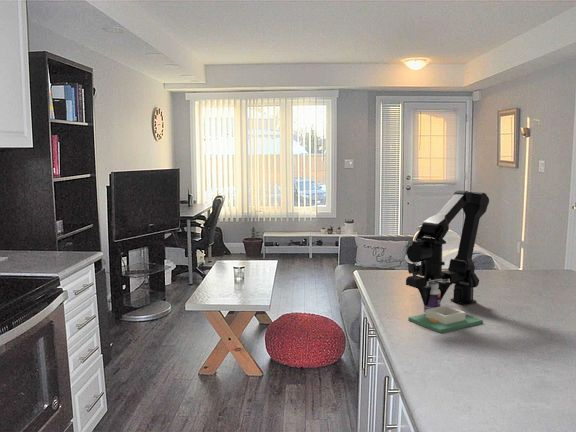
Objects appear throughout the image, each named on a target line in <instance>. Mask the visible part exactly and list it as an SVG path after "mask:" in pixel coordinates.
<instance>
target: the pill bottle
mask: <svg viewBox="0 0 576 432" xmlns="http://www.w3.org/2000/svg"><path fill="white" fill-rule="evenodd" d="M428 286H429V287H431V291H430V296H429V301H428V304H427V306H425V305H424V304H423V311H424V313H426V309H431V308H436V307H441V302H440V300H441V291H440V290H439V289H438V288H439V283H437V282H429V283H428ZM441 301H442V300H441Z"/></svg>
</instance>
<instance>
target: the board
mask: <svg viewBox="0 0 576 432" xmlns="http://www.w3.org/2000/svg"><path fill="white" fill-rule="evenodd" d="M407 320H408V321H409V322H412V323H414V324H417V325H419V326H422V327H425V328H427V329H428V330H431V331H434V332H437V333H439V334H443V333H446V332H451V331H455V330H459V329H463V328H469V327H472V326H476V325H481V324H483V323H484V319H481V318H478V317H475V316H472V315H469V314H466V312H465V311H463V310H460V309H456V308H454V307H451V306H447V305H440V307H436V308H431V309H426V312H425V313H422V314H417V315H413V316H408V318H407Z"/></svg>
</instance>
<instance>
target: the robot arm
mask: <svg viewBox="0 0 576 432" xmlns="http://www.w3.org/2000/svg"><path fill="white" fill-rule="evenodd" d="M489 203H490V199H489V196H488V194H487V193H486V192H476V191H468V190H456V191H454V193H453V196H452V197H451V198H450V199H449V200H448V201H447V202H446V204H445V205H444V206H443V207H442V208H441V209H440V210H439V212H437V213H436V214H434V215H432V216H430V217H428V218H426V219H425V220H424V221H423V222H422V224H421V225H420V229H419V231H418V233H417V235H416V237H415V239H414V240H413V241H411V245H409V246H408V247H407V250H406V257H407V259H408V260H409V261H410V262H411V263H410V264H408V266H407V270H408V274H410V276H407V277H406V278H405V285H406V286H409V287H412V288H413V289H414V288H415V289H417V290H418V292H419V294H420V298H421V300H422V303H423V306H424V305H425V306H427V304H428V301H429V296H430V291H431V287H429V286H428V283H429V282H437V283H439V288H438V289H439V290H440V291H441V300H440V303H441V302H442V300H443V299H444V296H445V295H446V293H447V291H448V290H449V288H450V287H451V286H452V285H454V287H453V297H452V298H450V301H451V302H454V303H458V304H461V305H469V304H473V303H477V300H476V299H474V288H477V287H478V286H479V283H480V279H479V277H478V276H477V274H476V273H475V270H476V266H475V264H474V263H475V262H474V260H473V253H474V249H475V243H476V239H477V234H478V230H479V224H480V219H481V217H482V216H483V215H484V214H485V213H486V212H487V209H488V206H489ZM461 210H463V213H464V221H463V225H462V230H461V236H460V241H459V243H458V244H459V245H458V250H457V255H456V256H455V257H454V258H451V259H449V265H448V268H447V270H443V266H445V261H443V245H446V244H447V241H446V240H445V239H444V238H445V237H446V234H447V233H448V232H449V229H450V223H451V222H452V221H453V220H454V219H455V217H456V216H457V215H458V213H460V211H461ZM416 263H420V264H418V265H416ZM411 274H412V275H411Z"/></svg>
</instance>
